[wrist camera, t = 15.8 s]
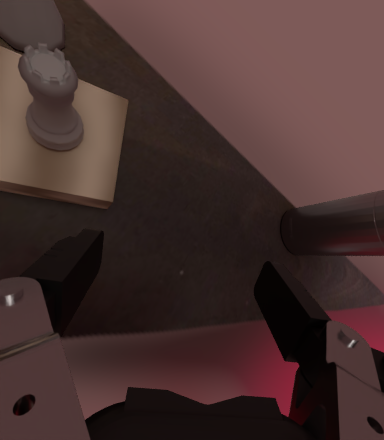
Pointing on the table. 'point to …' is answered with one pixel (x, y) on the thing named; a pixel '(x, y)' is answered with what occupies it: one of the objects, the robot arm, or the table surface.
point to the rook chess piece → (51, 98)
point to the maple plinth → (59, 159)
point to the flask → (31, 24)
